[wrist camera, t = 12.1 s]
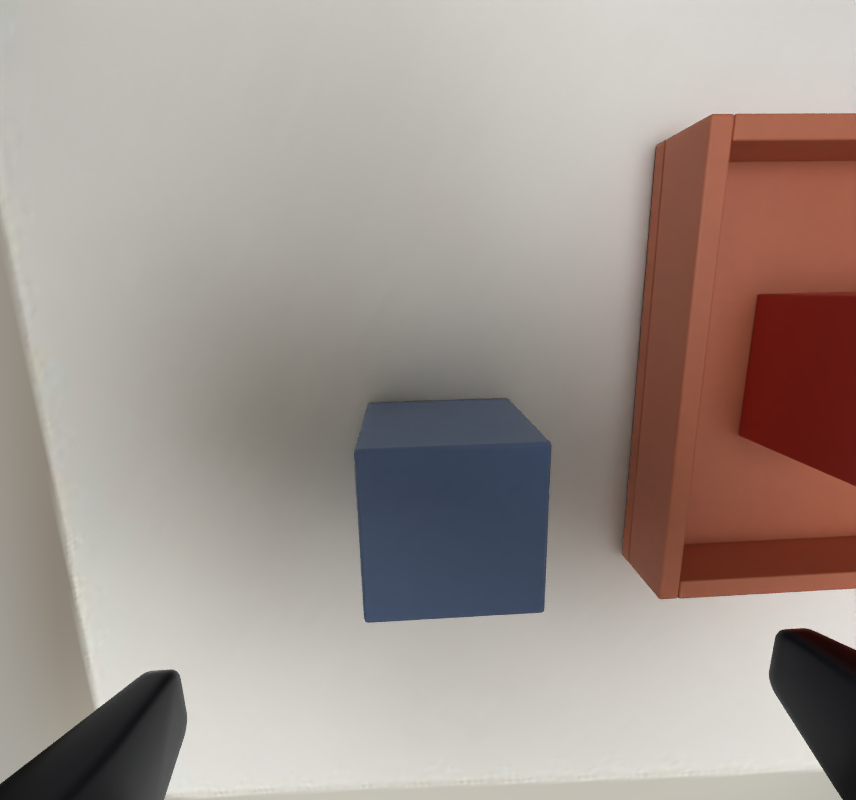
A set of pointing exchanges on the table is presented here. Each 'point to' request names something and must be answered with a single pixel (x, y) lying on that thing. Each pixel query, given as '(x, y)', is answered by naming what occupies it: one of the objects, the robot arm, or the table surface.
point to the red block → (804, 380)
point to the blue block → (451, 510)
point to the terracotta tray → (735, 357)
